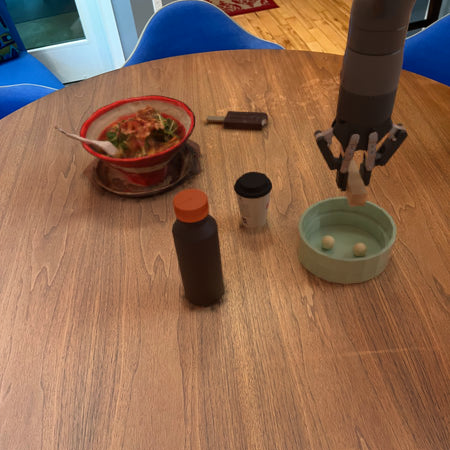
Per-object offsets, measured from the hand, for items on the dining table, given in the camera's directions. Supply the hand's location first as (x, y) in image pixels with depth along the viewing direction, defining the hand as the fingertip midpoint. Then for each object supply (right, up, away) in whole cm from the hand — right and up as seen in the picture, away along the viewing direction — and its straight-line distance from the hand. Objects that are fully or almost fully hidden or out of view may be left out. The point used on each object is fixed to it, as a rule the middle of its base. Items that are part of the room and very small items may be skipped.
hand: (351, 187), depth 76 cm
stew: (-38, +9, +29) cm, 49 cm away
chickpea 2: (+3, -10, +8) cm, 13 cm away
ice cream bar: (-17, +25, +40) cm, 51 cm away
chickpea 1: (-2, -9, +10) cm, 13 cm away
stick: (0, 0, 0) cm, 0 cm away
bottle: (-24, -17, +6) cm, 30 cm away
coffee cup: (-14, -3, +16) cm, 22 cm away
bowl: (+1, -9, +10) cm, 13 cm away
